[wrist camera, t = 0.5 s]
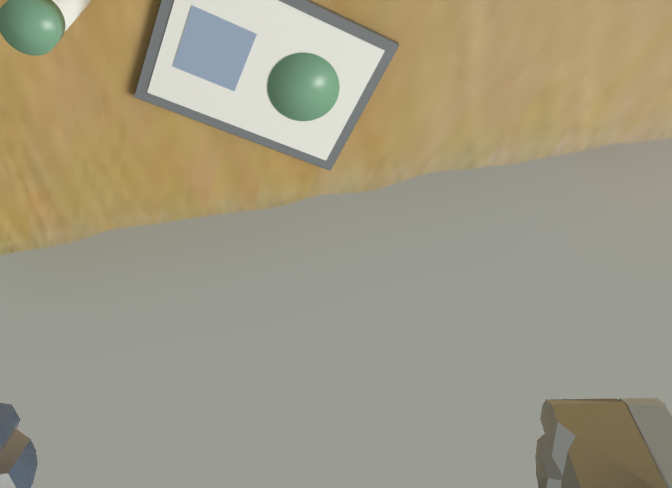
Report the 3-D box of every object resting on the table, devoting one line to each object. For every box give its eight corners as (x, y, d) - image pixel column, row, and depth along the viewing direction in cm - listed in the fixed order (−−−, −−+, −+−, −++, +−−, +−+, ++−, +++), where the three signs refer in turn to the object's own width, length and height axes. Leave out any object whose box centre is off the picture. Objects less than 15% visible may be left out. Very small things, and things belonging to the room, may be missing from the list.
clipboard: (180, -63, 47) (178, -60, 46) (397, 42, 54) (399, 45, 53) (135, 93, 55) (133, 97, 54) (329, 166, 62) (330, 171, 61)
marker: (55, -52, 46) (0, -11, 37) (103, -31, 48) (61, 14, 38) (48, -8, 49) (-6, 42, 39) (94, 11, 50) (52, 63, 41)
